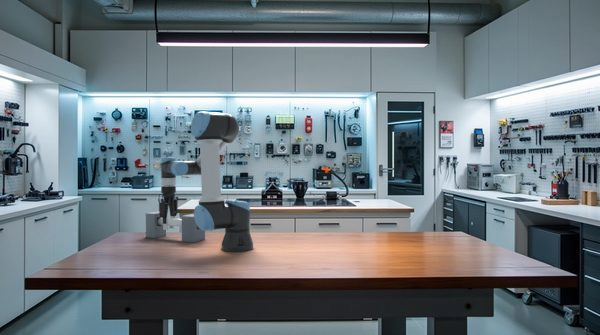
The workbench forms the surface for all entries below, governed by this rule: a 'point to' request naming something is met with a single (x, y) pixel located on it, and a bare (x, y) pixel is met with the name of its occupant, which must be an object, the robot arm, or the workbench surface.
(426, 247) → the workbench surface
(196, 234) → the sleeve
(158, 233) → the socket block
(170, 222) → the tube
